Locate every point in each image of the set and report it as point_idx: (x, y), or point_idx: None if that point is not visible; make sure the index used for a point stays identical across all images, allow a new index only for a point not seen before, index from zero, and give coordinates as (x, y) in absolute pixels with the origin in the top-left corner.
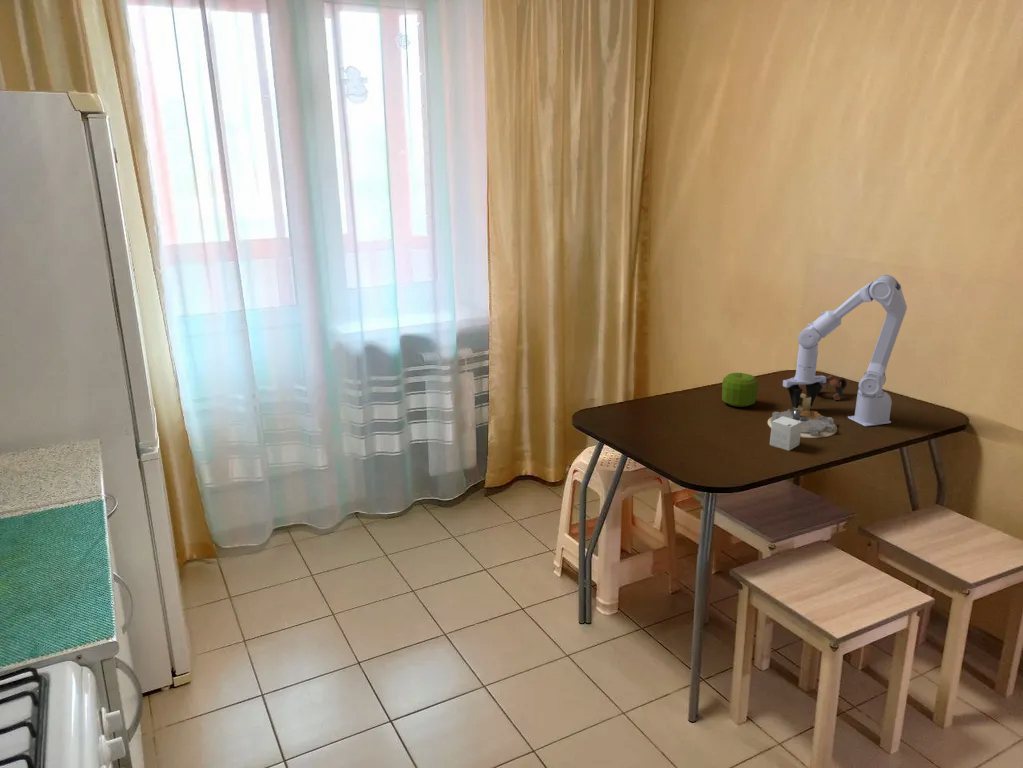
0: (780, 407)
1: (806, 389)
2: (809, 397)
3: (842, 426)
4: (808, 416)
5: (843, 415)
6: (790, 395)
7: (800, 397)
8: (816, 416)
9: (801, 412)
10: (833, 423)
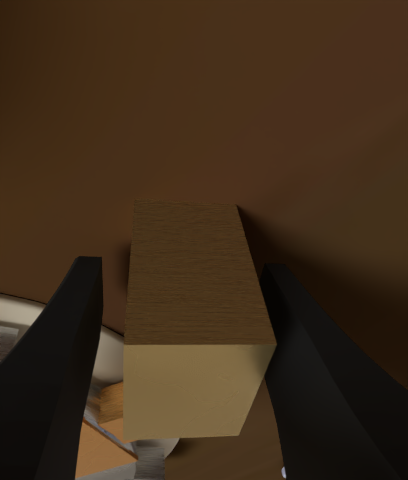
0: (9, 94)
1: (347, 405)
2: (214, 435)
3: (197, 453)
4: None
5: None
6: (4, 369)
7: (124, 407)
8: (79, 476)
9: None
10: (172, 449)
